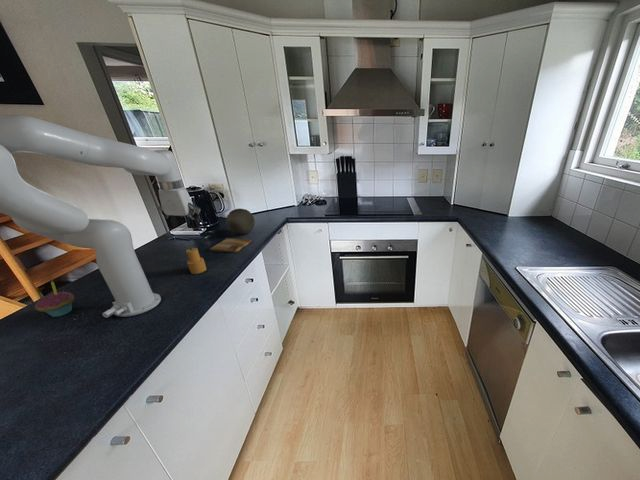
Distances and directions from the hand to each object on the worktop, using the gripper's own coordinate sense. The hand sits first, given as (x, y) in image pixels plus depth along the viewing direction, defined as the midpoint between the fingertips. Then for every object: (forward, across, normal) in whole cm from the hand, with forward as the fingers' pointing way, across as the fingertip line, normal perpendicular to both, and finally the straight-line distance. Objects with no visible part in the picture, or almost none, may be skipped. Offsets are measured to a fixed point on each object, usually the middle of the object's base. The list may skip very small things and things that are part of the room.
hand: (185, 227), depth 110 cm
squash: (+20, 0, -1) cm, 20 cm away
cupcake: (+20, -24, -34) cm, 46 cm away
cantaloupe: (+20, -5, +41) cm, 46 cm away
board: (+20, -2, +25) cm, 32 cm away
